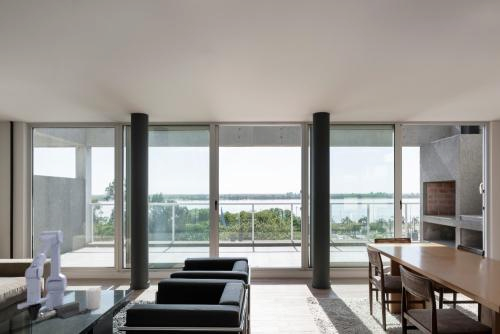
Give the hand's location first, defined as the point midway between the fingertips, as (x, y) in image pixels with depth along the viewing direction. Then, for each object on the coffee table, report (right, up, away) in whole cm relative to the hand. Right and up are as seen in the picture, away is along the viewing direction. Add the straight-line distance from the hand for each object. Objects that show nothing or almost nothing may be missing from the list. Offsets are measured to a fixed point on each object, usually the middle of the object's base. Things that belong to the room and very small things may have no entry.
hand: (33, 320), depth 183 cm
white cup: (+20, -3, +23) cm, 31 cm away
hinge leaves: (+9, -2, +15) cm, 17 cm away
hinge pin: (+5, -2, +9) cm, 10 cm away
